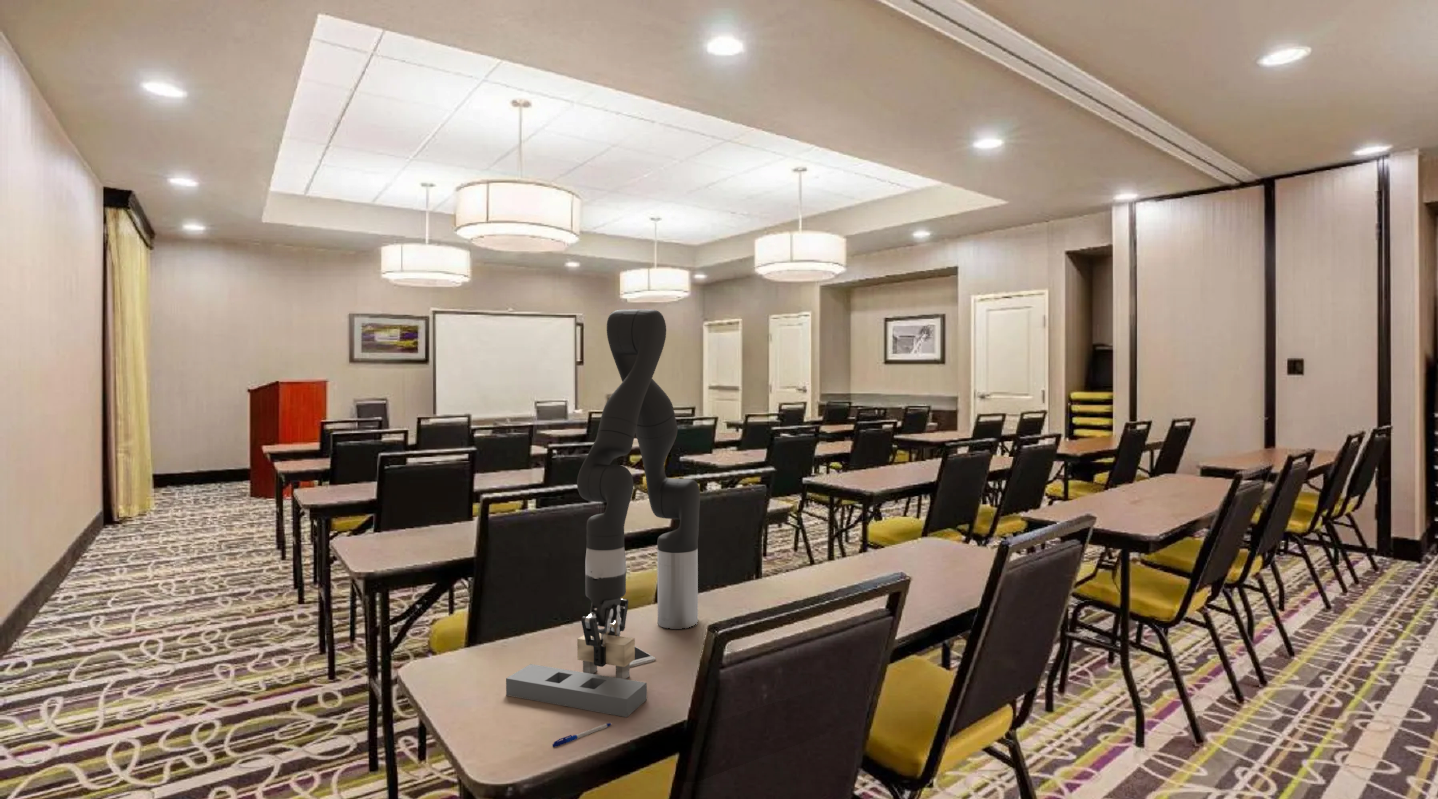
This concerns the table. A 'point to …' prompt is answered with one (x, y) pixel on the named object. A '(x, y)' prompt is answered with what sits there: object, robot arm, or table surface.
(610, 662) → the tan rectangular block
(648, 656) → the smartphone
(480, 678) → the table surface
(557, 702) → the slotted rail
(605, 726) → the ballpoint pen
